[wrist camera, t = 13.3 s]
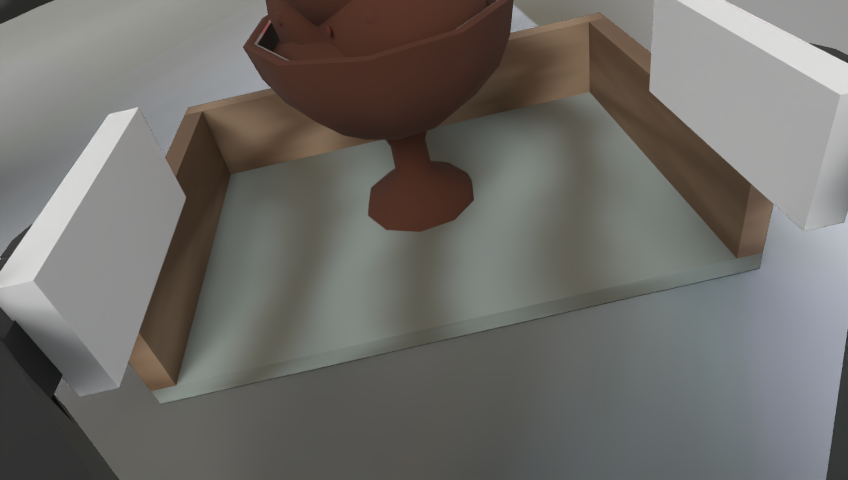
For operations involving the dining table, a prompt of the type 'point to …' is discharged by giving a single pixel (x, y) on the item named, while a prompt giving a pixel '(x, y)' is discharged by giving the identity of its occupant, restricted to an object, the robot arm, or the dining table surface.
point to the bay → (445, 244)
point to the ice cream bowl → (387, 84)
